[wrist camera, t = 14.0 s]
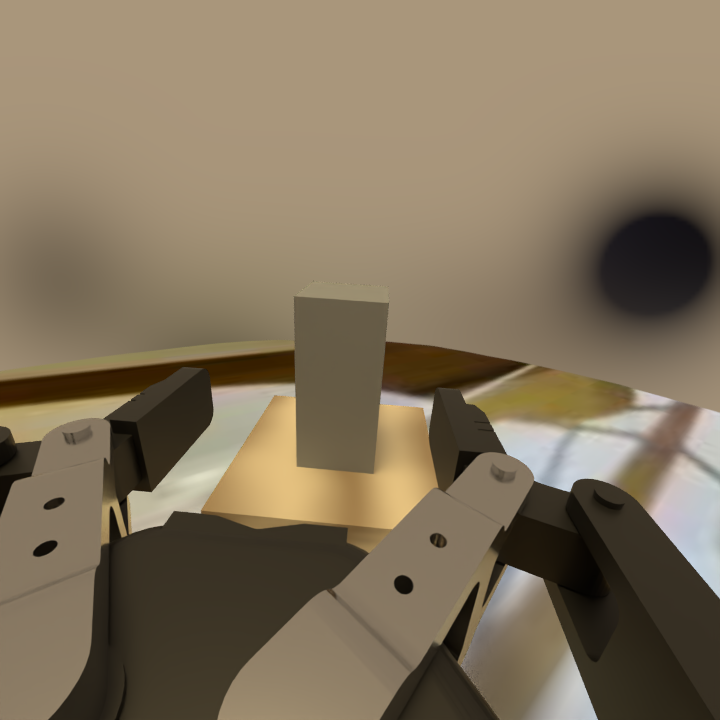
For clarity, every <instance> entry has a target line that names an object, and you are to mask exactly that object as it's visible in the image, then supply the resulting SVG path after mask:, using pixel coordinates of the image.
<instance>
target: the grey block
mask: <svg viewBox="0 0 720 720" xmlns="http://www.w3.org/2000/svg"><path fill="white" fill-rule="evenodd" d="M388 307H389V291H388V287H385V286H371V285H357V284H342V283H328V282H314V281H313V282H312V283H310V284H309V285H308V286H307V287H305V288H304V289H303V290H301V291H300V292H299V293H298V294H296V295H295V296H294V323H295V391H296V458H297V467H305V468H315V469H326V470H336V471H347V472H357V473H368V474H374V463H375V452H376V441H377V430H378V419H379V407H380V396H381V385H382V374H383V363H384V352H385V341H386V330H387V329H386V328H387V317H388Z"/></svg>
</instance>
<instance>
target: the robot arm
mask: <svg viewBox="0 0 720 720" xmlns="http://www.w3.org/2000/svg"><path fill="white" fill-rule="evenodd" d="M212 417H213V401H212V393H211V384H210V376H209V373H208V371H207V370H206V369H199V368H187V367H183V368H181V369H180V370H178V371H177V372H175V373H174V374H172V375H171V376H170V377H168V378H167V379H165V380H164V381H161V382H159V383H156V384H154V385H151V386H150V387H148V388H147V389H145V390H144V391H143V392H141V393H140V395H137V396H135V397H134V398H132V399H131V401H128V402H127V403H125V404H124V405H122V406H121V407H120V408H118V409H117V410H115V411H114V412H112V413H111V414H109V415H108V416H107V417H105V418H104V419H99V418H89V419H82V420H77V421H73V422H70V423H67V424H64V425H61V426H59V427H57V428H55V429H53V430H52V431H50V432H49V433H48V434H46V435H45V436H44V438H43V440H42V441H35V442H25V443H15V441H14V439H13V436H12V434H11V431H10V429H8V428H7V427H2V426H0V720H499V718H498V717H497V716H496V714H495V713H494V712H493V710H492V709H491V707H490V706H489V705H488V703H487V702H486V701H485V699H484V698H483V697H482V695H481V694H480V692H479V691H478V690H477V688H476V687H475V686H474V684H473V683H472V682H471V680H470V679H469V677H468V676H467V675H466V673H465V672H464V671H463V669H462V668H461V664H462V662H463V660H464V658H465V655H466V653H467V651H468V649H469V646H470V644H471V641H472V639H473V636H474V633H475V631H476V628H477V626H478V624H479V621H480V619H481V617H482V615H483V613H484V611H485V609H486V607H487V605H488V603H489V602H490V600H491V598H492V596H493V594H494V592H495V590H496V588H497V586H498V584H499V582H500V580H501V578H502V576H503V574H504V572H505V570H506V568H507V566H508V565H509V566H512V567H515V568H517V569H520V570H522V571H525V572H528V573H530V574H533V575H536V576H538V577H541V578H543V579H544V582H545V585H546V587H547V590H548V592H549V595H550V598H551V600H552V603H553V605H554V608H555V610H556V613H557V616H558V618H559V621H560V623H561V626H562V628H563V631H564V634H565V636H566V639H567V641H568V644H569V646H570V649H571V652H572V654H573V657H574V659H575V662H576V664H577V667H578V670H579V672H580V675H581V677H582V680H583V682H584V685H585V688H586V690H587V693H588V695H589V698H590V700H591V703H592V706H593V708H594V711H595V713H596V716H597V718H598V720H720V599H719V597H718V596H717V595H716V594H715V593H714V591H713V590H712V589H711V588H710V587H709V586H708V584H707V583H706V582H705V581H704V580H703V578H702V577H701V576H700V575H699V574H698V572H697V571H696V570H695V569H694V568H693V566H692V565H691V564H690V563H689V562H688V561H687V559H686V558H685V557H684V556H683V555H682V553H681V552H680V551H679V550H678V549H677V547H676V546H675V545H674V544H673V543H672V542H671V540H670V539H669V538H668V537H667V536H666V534H665V533H664V532H663V531H662V530H661V528H660V527H659V526H658V525H657V524H656V522H655V521H654V520H653V519H652V518H651V517H650V515H649V514H648V513H647V512H646V511H645V509H644V508H643V507H642V506H641V505H640V504H639V503H638V501H637V500H635V499H634V498H633V497H632V496H631V495H629V494H628V493H626V492H625V491H623V490H621V489H619V488H618V487H616V486H613V485H611V484H609V483H606V482H603V481H599V480H594V479H580V480H578V481H576V482H575V483H574V484H573V486H572V489H571V491H570V492H567V491H563V490H560V489H557V488H553V487H550V486H547V485H544V484H541V483H538V482H536V481H534V476H533V474H532V472H531V470H530V469H529V468H528V467H527V466H526V465H525V464H524V463H522V462H521V461H519V460H518V459H516V458H513V457H511V456H509V455H507V454H506V452H505V450H504V448H503V446H502V444H501V442H500V441H499V439H498V437H497V435H496V433H495V432H494V429H493V428H492V426H491V424H490V422H489V420H488V418H487V416H486V415H485V413H484V412H483V411H481V410H480V409H479V408H478V407H476V406H475V405H471V404H466V403H465V401H464V399H463V396H462V394H461V392H460V390H459V389H446V388H437V389H436V391H435V396H434V402H433V409H432V415H431V422H430V428H429V445H430V450H431V455H432V459H433V464H434V469H435V474H436V479H437V483H438V488H437V487H435V488H433V489H432V490H430V491H429V492H428V493H427V494H426V495H425V496H424V498H423V499H422V500H421V501H420V502H419V503H418V504H417V505H416V506H415V507H414V508H413V509H412V510H411V511H410V512H409V513H408V514H407V515H406V516H405V517H404V518H403V519H402V520H401V521H400V522H399V523H398V524H397V525H396V526H395V527H394V528H393V529H392V530H391V532H390V533H389V534H388V535H387V536H386V537H385V538H384V539H383V540H382V541H381V542H380V543H379V544H378V545H377V546H376V547H375V548H374V549H373V550H372V551H371V552H370V553H368V552H367V551H365V550H363V549H361V548H359V547H357V546H355V545H353V544H350V543H347V535H348V528H346V527H335V526H325V525H314V524H297V525H288V526H280V527H271V528H263V529H254V528H251V527H248V526H245V525H242V524H240V523H237V522H234V521H231V520H228V519H226V518H223V517H220V516H217V515H209V514H199V513H188V512H178V511H174V512H173V513H172V515H171V516H170V518H169V519H168V520H167V522H166V523H165V524H164V526H158V527H153V528H148V529H145V530H141V531H138V532H135V533H132V528H131V511H130V502H129V498H128V494H129V493H130V492H131V491H132V490H135V491H145V492H152V491H153V490H154V489H155V488H156V486H157V485H158V484H159V483H160V482H161V481H162V479H163V478H164V477H165V476H166V475H167V474H168V472H169V471H170V470H171V469H172V468H173V467H174V466H175V464H176V463H177V462H178V461H179V460H180V459H181V457H182V456H183V455H184V454H185V453H186V452H187V451H188V449H189V448H190V447H191V446H192V445H193V444H194V442H195V441H196V440H197V439H198V438H199V437H200V436H201V434H202V433H203V432H204V431H205V430H206V429H207V427H208V426H209V425H210V423H211V421H212Z"/></svg>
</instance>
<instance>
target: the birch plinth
mask: <svg viewBox="0 0 720 720" xmlns="http://www.w3.org/2000/svg"><path fill="white" fill-rule="evenodd" d="M435 487H437V488H438V483H437V479H436V474H435V469H434V464H433V459H432V455H431V450H430V445H429V435H428V430H427V425H426V420H425V415H424V411H423V408H418V407H406V406H394V405H382V404H380V407H379V419H378V430H377V441H376V452H375V463H374V474H368V473H357V472H347V471H336V470H326V469H315V468H305V467H297V458H296V397H286V396H274V397H273V399H272V400H271V402H270V404H269V405H268V407H267V408H266V410H265V411H264V413H263V415H262V416H261V418H260V419H259V421H258V422H257V424H256V425H255V427H254V429H253V430H252V432H251V433H250V435H249V436H248V438H247V439H246V441H245V443H244V444H243V446H242V447H241V449H240V450H239V452H238V454H237V455H236V457H235V458H234V460H233V461H232V463H231V464H230V466H229V468H228V469H227V471H226V472H225V474H224V475H223V477H222V479H221V480H220V482H219V483H218V485H217V486H216V488H215V489H214V491H213V493H212V494H211V496H210V497H209V499H208V500H207V502H206V503H205V505H204V507H203V508H202V510H201V514H209V515H217V516H220V517H223V518H226V519H228V520H231V521H234V522H237V523H240V524H242V525H245V526H248V527H251V528H254V529H263V528H271V527H280V526H288V525H297V524H314V525H325V526H335V527H346V528H348V535H347V543H350V544H353V545H355V546H357V547H359V548H361V549H363V550H365V551H367V552H368V553H370V552H371V551H372V550H373V549H374V548H375V547H376V546H377V545H378V544H379V543H380V542H381V541H382V540H383V539H384V538H385V537H386V536H387V535H388V534H389V533H390V532H391V530H392V529H393V528H394V527H395V526H396V525H397V524H398V523H399V522H400V521H401V520H402V519H403V518H404V517H405V516H406V515H407V514H408V513H409V512H410V511H411V510H412V509H413V508H414V507H415V506H416V505H417V504H418V503H419V502H420V501H421V500H422V499H423V498H424V496H425V495H426V494H427V493H428V492H429V491H430V490H432V489H433V488H435Z"/></svg>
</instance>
